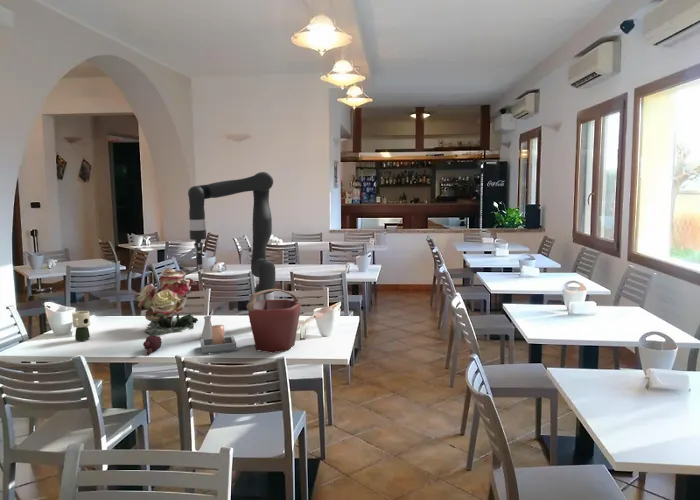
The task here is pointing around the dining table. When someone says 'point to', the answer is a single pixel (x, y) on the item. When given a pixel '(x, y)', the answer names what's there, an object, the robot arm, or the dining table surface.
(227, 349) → the slate tray
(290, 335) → the bucket
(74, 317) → the character mug
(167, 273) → the rose bouquet
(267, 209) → the robot arm
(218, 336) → the terracotta cup
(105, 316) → the dining table surface
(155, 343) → the icecream
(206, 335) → the flask
